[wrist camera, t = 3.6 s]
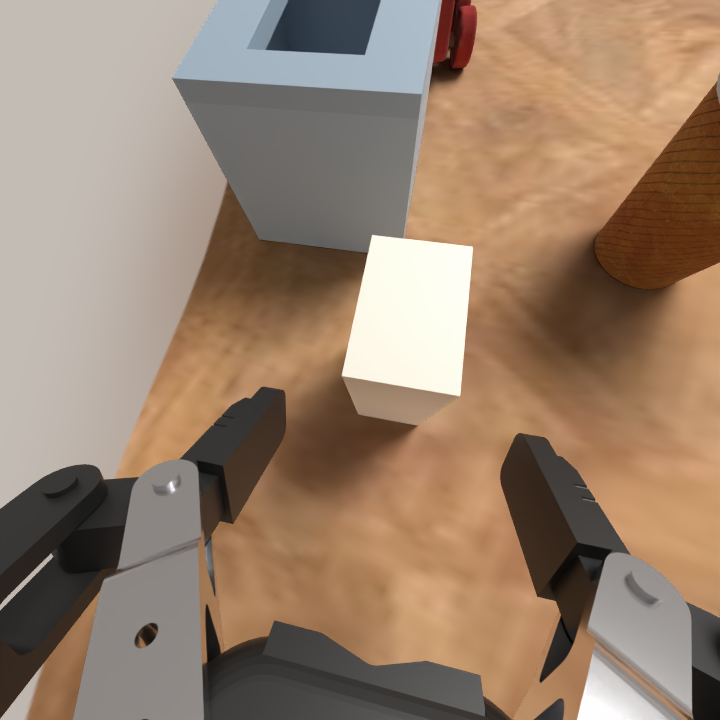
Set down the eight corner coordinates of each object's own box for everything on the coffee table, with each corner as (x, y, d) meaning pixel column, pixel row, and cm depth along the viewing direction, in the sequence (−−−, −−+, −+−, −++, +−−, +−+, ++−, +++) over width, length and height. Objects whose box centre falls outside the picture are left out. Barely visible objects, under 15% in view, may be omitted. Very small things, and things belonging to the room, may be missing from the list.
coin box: (300, 124, 29) (257, -67, 18) (422, 133, 27) (451, -66, 17) (259, 239, 24) (172, 78, 14) (401, 257, 23) (421, 94, 13)
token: (417, 425, 19) (459, 396, 10) (358, 414, 19) (341, 375, 10) (428, 341, 21) (472, 246, 11) (373, 333, 21) (372, 235, 12)
